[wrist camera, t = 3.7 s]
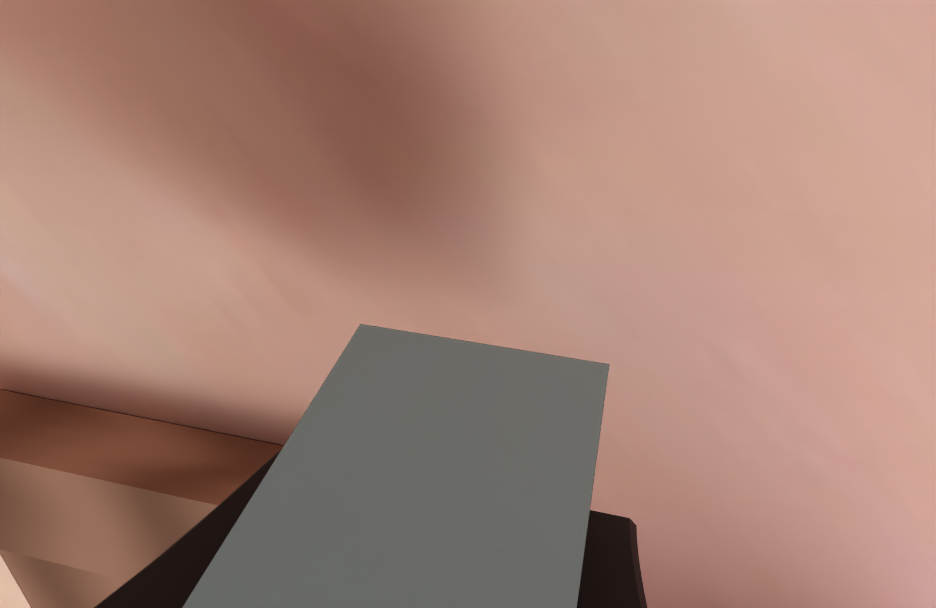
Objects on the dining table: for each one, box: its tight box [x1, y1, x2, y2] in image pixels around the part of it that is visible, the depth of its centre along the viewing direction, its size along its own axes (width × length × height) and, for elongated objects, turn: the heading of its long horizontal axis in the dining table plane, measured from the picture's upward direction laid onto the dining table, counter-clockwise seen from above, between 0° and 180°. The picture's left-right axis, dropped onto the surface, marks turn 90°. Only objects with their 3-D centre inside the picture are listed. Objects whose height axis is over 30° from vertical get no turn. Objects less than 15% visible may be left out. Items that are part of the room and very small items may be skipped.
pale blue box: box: [182, 324, 609, 608], centre depth 10 cm, size 4×4×6 cm
